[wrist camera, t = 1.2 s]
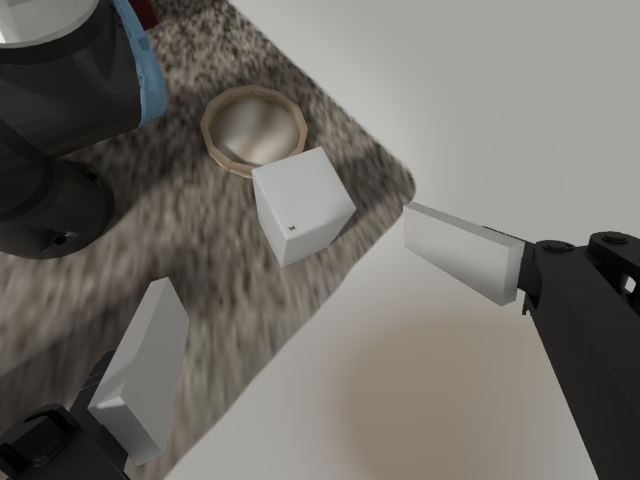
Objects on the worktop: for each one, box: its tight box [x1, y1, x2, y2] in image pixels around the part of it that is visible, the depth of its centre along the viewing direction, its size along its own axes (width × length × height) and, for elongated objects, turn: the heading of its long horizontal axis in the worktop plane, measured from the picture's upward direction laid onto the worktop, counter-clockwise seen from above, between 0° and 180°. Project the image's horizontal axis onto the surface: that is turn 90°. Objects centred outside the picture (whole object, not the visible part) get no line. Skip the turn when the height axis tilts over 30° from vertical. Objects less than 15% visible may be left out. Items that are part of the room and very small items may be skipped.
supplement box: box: [252, 146, 357, 268], centre depth 36 cm, size 9×9×15 cm
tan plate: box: [200, 85, 308, 179], centre depth 46 cm, size 17×17×2 cm
